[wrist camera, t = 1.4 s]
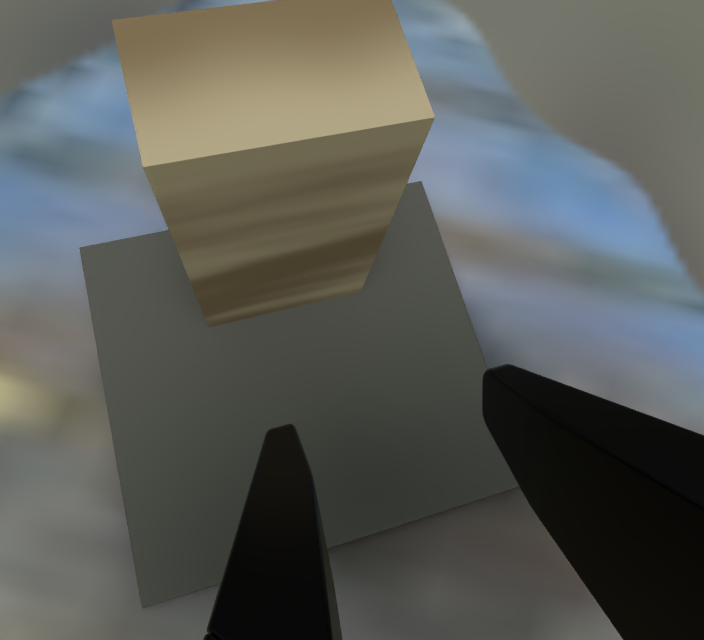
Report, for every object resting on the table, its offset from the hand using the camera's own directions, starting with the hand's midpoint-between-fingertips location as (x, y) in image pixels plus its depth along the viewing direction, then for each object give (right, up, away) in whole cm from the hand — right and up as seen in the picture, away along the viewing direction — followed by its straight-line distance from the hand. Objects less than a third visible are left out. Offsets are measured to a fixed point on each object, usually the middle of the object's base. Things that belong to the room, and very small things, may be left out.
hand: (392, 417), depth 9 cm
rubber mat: (-3, 0, +13) cm, 13 cm away
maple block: (-4, +4, +13) cm, 14 cm away
